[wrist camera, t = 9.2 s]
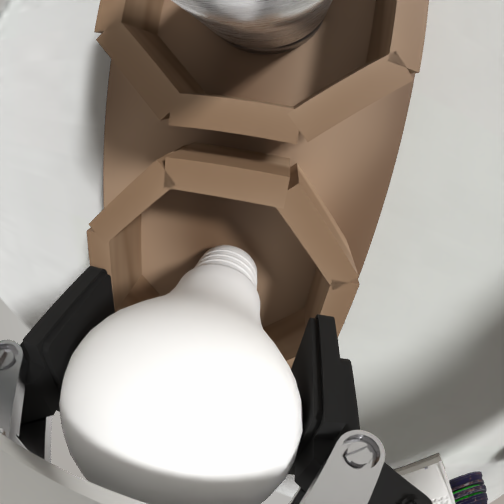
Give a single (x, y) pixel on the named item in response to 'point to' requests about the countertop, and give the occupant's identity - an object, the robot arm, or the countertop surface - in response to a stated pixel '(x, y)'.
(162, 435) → the lightbulb
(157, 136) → the socket board
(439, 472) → the skyscraper
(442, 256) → the countertop surface
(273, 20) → the grey domed cylinder
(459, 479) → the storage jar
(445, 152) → the countertop surface
